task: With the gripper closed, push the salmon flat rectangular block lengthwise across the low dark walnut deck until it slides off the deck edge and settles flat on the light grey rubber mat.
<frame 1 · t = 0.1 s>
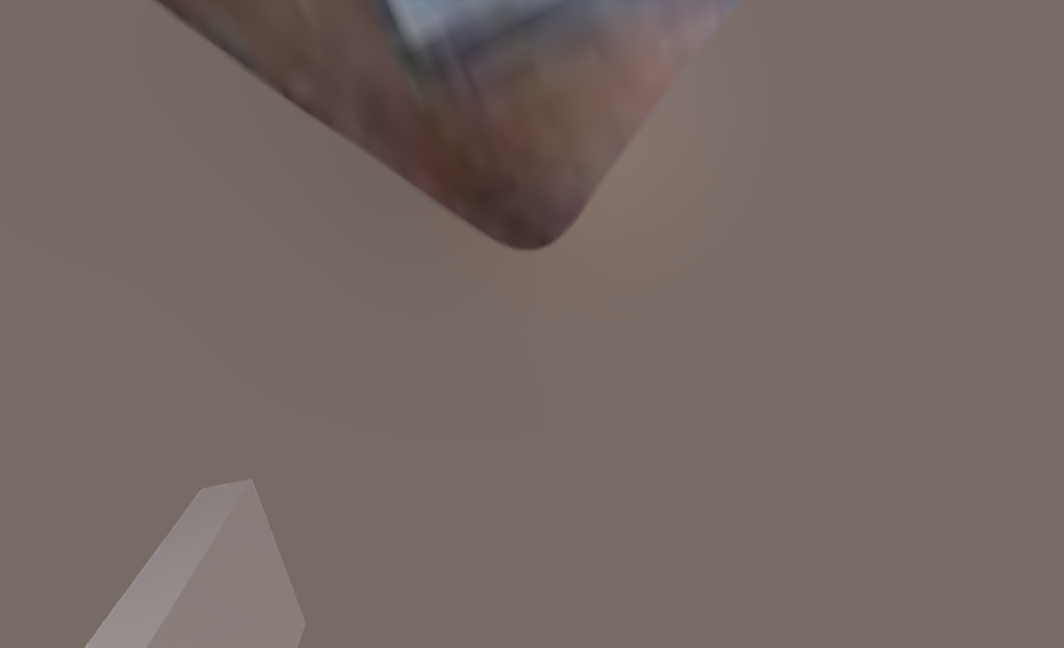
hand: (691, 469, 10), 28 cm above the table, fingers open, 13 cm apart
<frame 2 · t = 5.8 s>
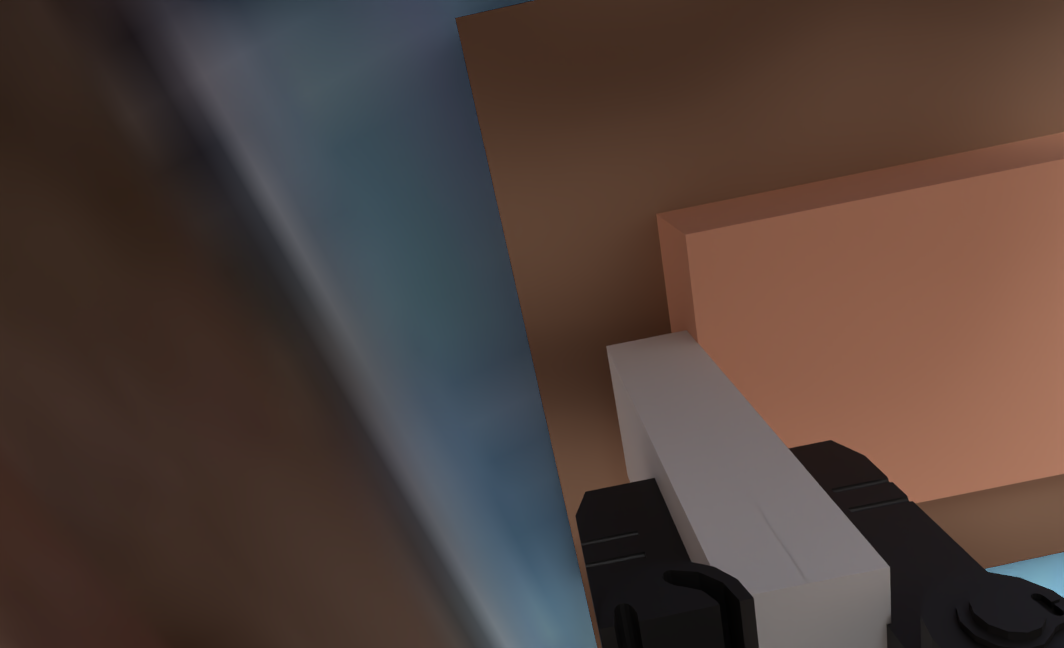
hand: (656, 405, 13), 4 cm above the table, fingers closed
deck: (861, 272, 16), on the table
salmon flat rectangular block: (892, 315, 14), point 2 cm above the table, touching deck
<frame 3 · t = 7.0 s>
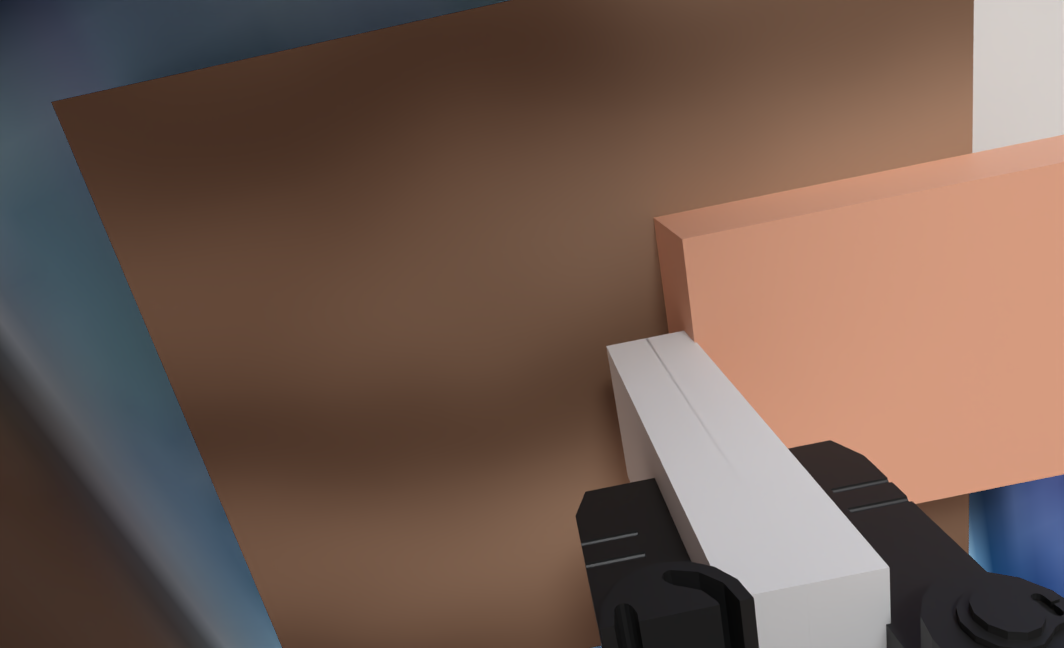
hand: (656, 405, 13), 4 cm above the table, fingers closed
deck: (570, 331, 16), on the table
salmon flat rectangular block: (889, 317, 14), point 3 cm above the table, touching deck, gripper
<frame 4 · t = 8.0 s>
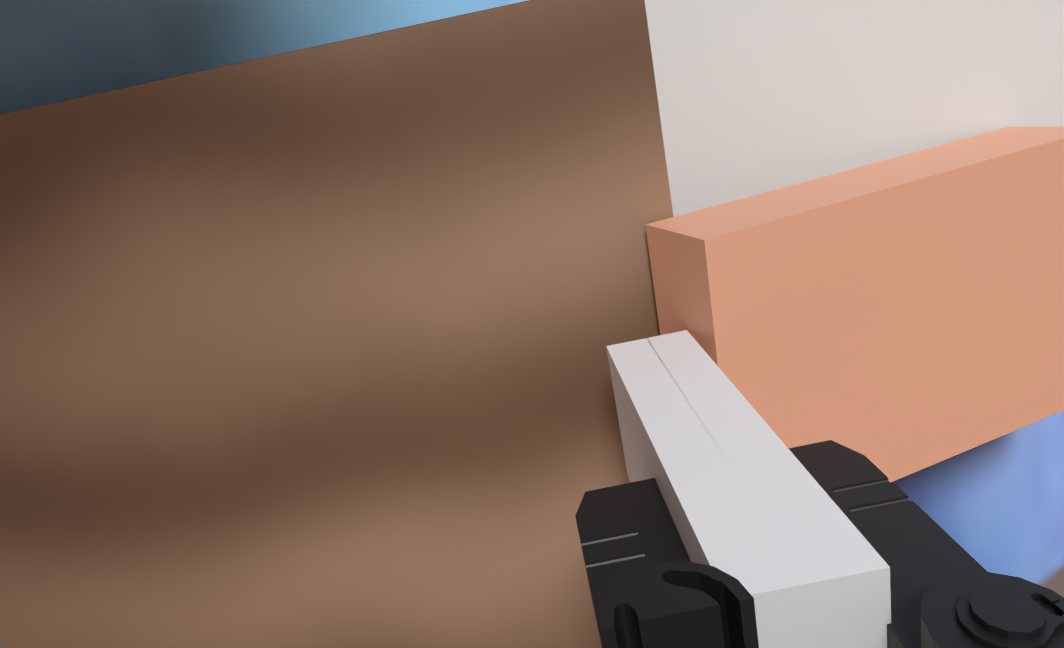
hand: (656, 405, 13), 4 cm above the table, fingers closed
deck: (333, 384, 16), on the table
salmon flat rectangular block: (846, 309, 15), point 1 cm above the table, tilted 15°, touching deck
mat: (928, 173, 15), on the table
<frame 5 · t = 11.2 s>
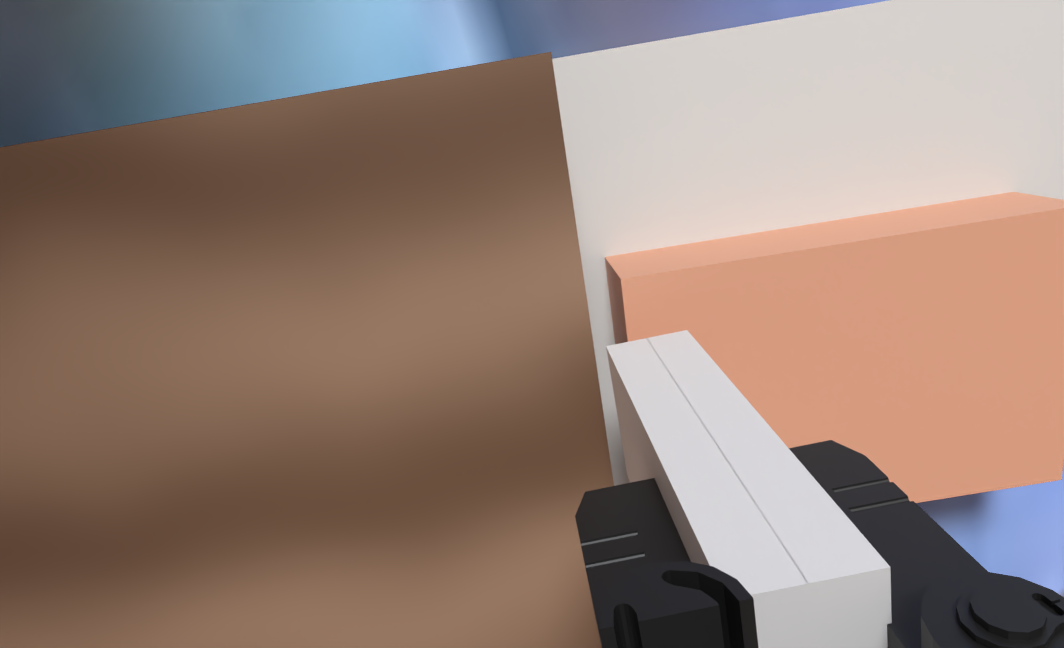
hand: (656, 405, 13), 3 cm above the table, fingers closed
deck: (252, 435, 16), on the table
salmon flat rectangular block: (812, 352, 16), resting on mat
mat: (861, 247, 15), on the table
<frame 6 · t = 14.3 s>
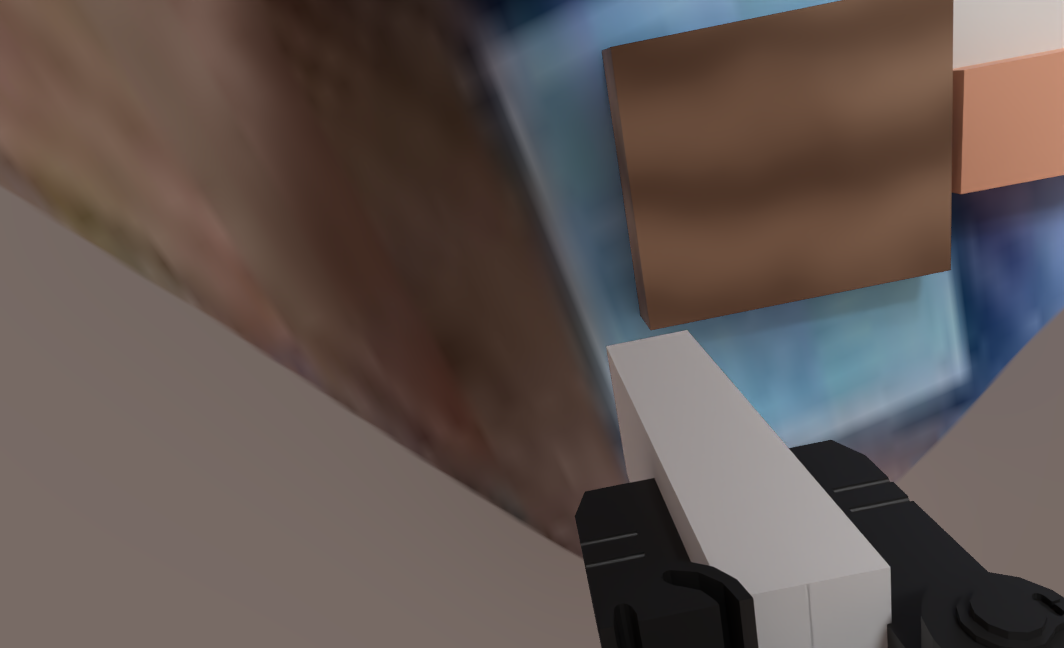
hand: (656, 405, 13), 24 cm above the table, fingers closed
deck: (771, 161, 36), on the table
salmon flat rectangular block: (1022, 116, 35), resting on mat
mat: (1045, 66, 35), on the table
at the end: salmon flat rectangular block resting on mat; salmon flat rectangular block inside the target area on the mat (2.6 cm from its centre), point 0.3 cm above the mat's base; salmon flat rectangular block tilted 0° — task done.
